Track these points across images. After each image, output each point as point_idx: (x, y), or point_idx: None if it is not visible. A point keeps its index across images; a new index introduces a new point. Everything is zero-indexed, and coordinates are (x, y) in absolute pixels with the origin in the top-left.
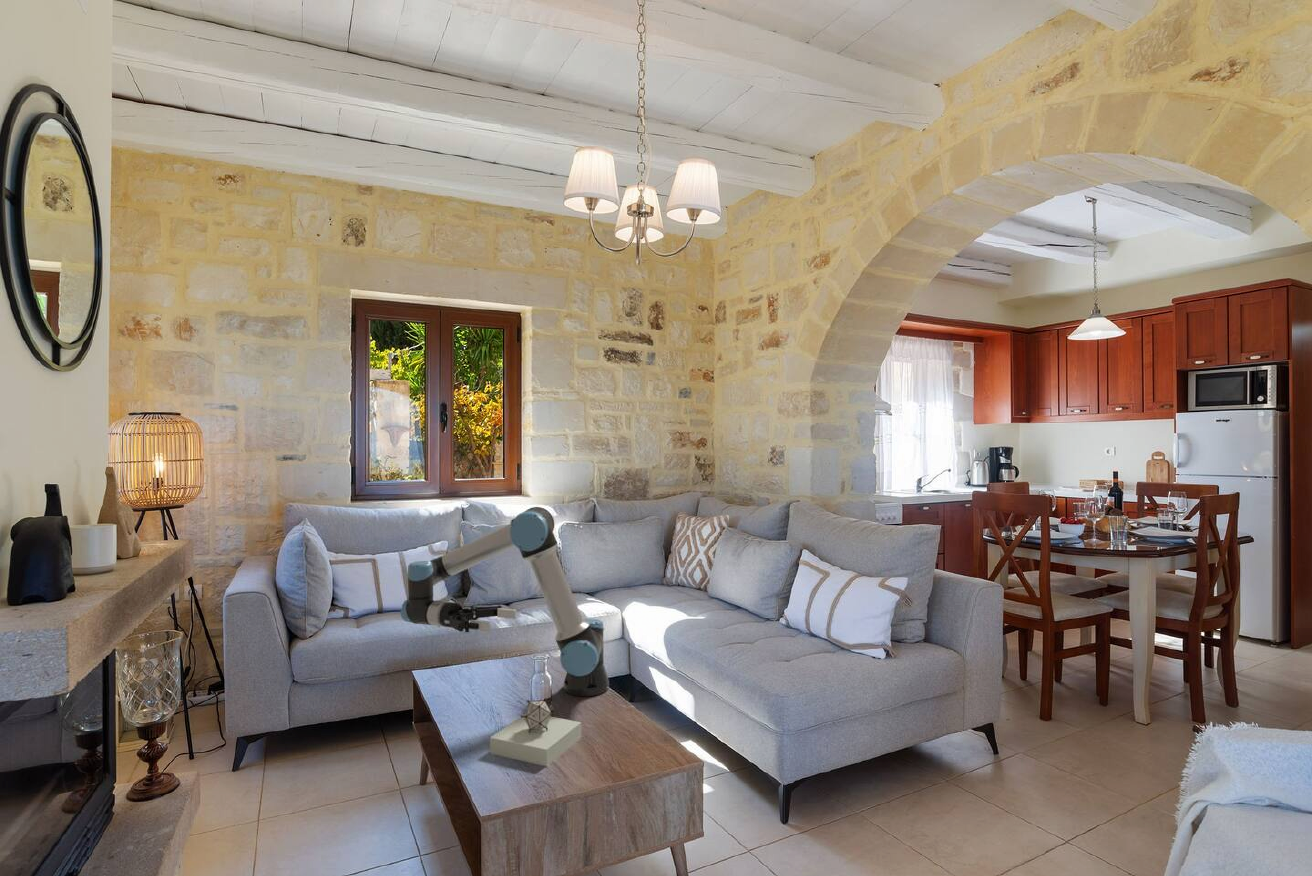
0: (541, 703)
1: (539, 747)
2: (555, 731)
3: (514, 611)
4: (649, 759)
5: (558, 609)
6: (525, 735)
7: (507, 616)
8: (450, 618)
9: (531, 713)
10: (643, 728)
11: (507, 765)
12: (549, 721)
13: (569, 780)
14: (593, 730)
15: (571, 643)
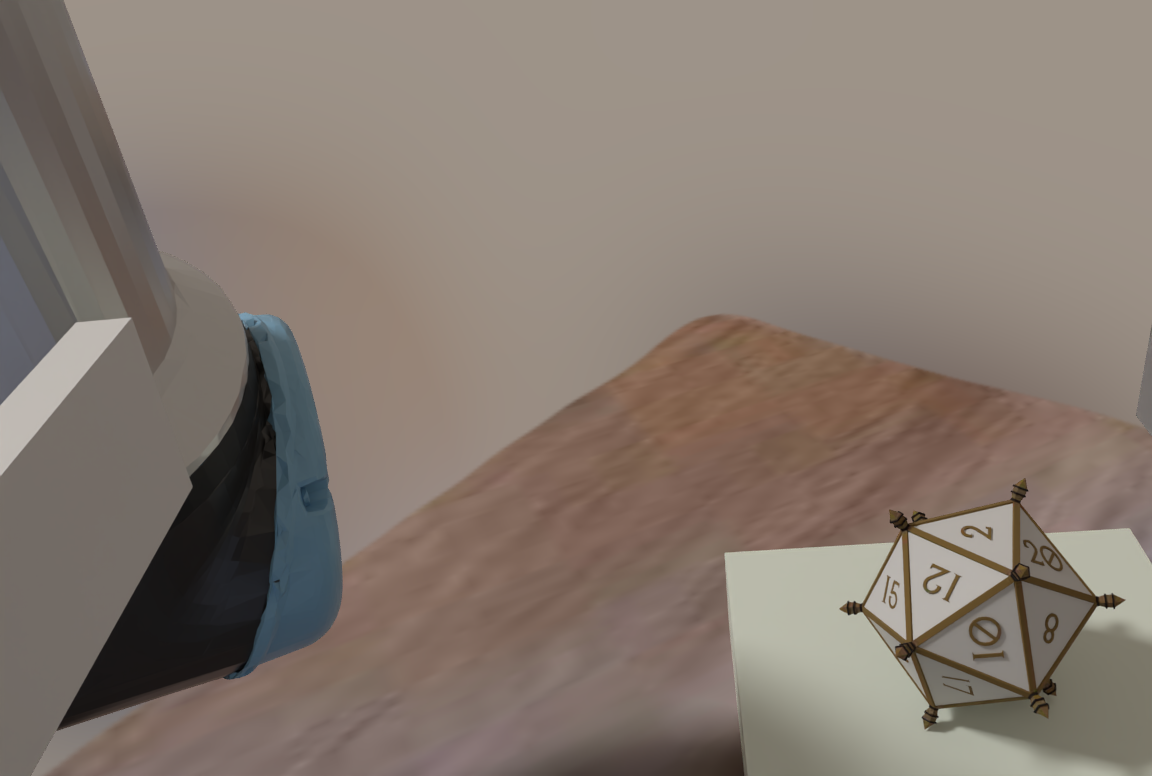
0: (962, 515)
1: (1144, 562)
2: None
3: (137, 341)
4: (763, 383)
5: (93, 99)
6: (1097, 697)
7: (97, 585)
8: None
9: (1065, 562)
10: (502, 481)
11: None
12: (817, 686)
13: (1127, 486)
14: (613, 620)
15: (294, 361)
